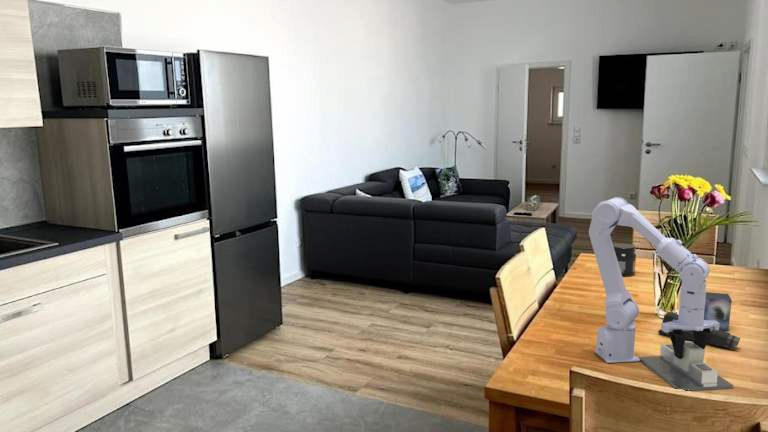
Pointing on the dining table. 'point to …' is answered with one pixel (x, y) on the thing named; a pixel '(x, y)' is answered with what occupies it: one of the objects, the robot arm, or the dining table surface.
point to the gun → (719, 336)
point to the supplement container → (626, 258)
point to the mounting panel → (696, 379)
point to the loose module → (689, 356)
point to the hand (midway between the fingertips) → (687, 356)
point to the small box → (718, 309)
